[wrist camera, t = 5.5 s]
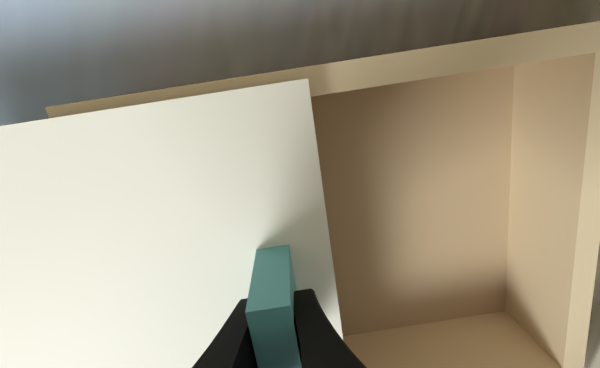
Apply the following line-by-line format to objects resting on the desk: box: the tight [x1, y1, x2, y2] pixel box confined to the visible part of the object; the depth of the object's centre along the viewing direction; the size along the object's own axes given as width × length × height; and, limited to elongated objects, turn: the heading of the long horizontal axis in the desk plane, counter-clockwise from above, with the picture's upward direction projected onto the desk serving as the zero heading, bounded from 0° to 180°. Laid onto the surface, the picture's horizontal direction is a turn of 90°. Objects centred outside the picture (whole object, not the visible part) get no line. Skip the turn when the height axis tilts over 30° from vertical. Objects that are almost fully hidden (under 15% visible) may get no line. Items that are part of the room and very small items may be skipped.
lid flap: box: [0, 78, 343, 368], centre depth 11 cm, size 15×19×4 cm
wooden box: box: [45, 21, 600, 368], centre depth 16 cm, size 16×20×5 cm
